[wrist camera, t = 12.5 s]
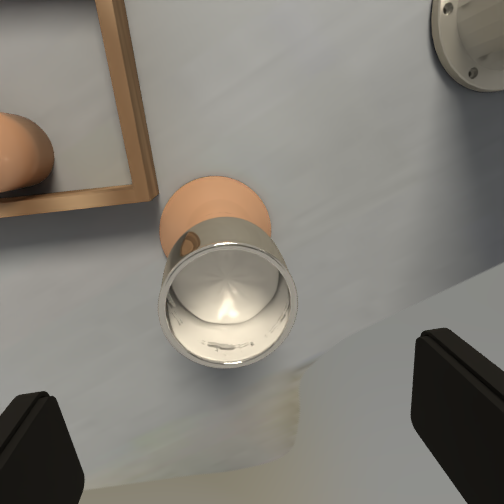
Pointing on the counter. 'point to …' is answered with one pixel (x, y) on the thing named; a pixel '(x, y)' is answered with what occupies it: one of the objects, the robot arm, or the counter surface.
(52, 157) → the peach rounded cylinder
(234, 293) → the beer glass
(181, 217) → the orange dish
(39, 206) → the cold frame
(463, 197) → the counter surface
